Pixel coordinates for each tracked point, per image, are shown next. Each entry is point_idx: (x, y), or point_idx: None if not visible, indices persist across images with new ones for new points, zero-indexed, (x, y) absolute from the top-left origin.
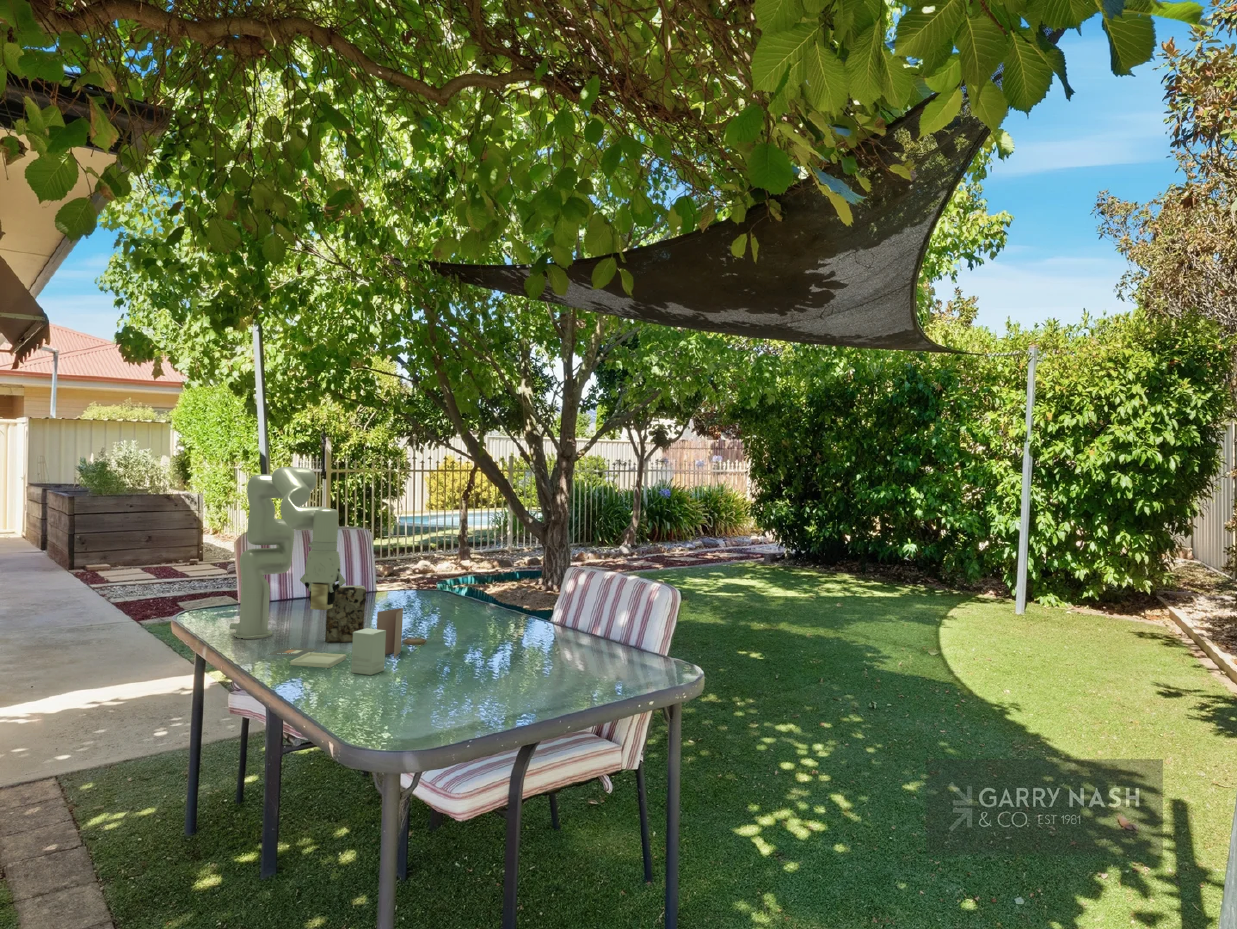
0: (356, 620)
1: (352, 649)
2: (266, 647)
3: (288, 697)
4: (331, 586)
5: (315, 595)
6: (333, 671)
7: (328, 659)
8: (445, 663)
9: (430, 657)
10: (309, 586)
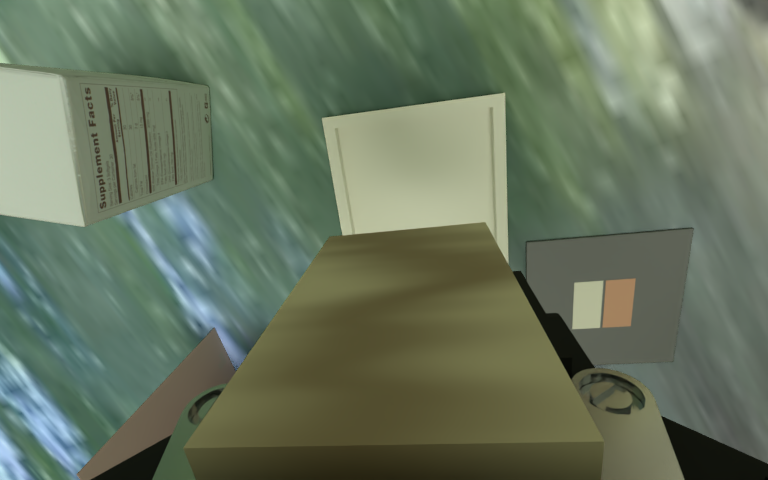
0: None
1: (141, 80)
2: (747, 339)
3: None
4: (171, 470)
5: (447, 293)
6: (282, 78)
7: (393, 221)
8: (42, 321)
9: (130, 374)
10: (656, 440)
